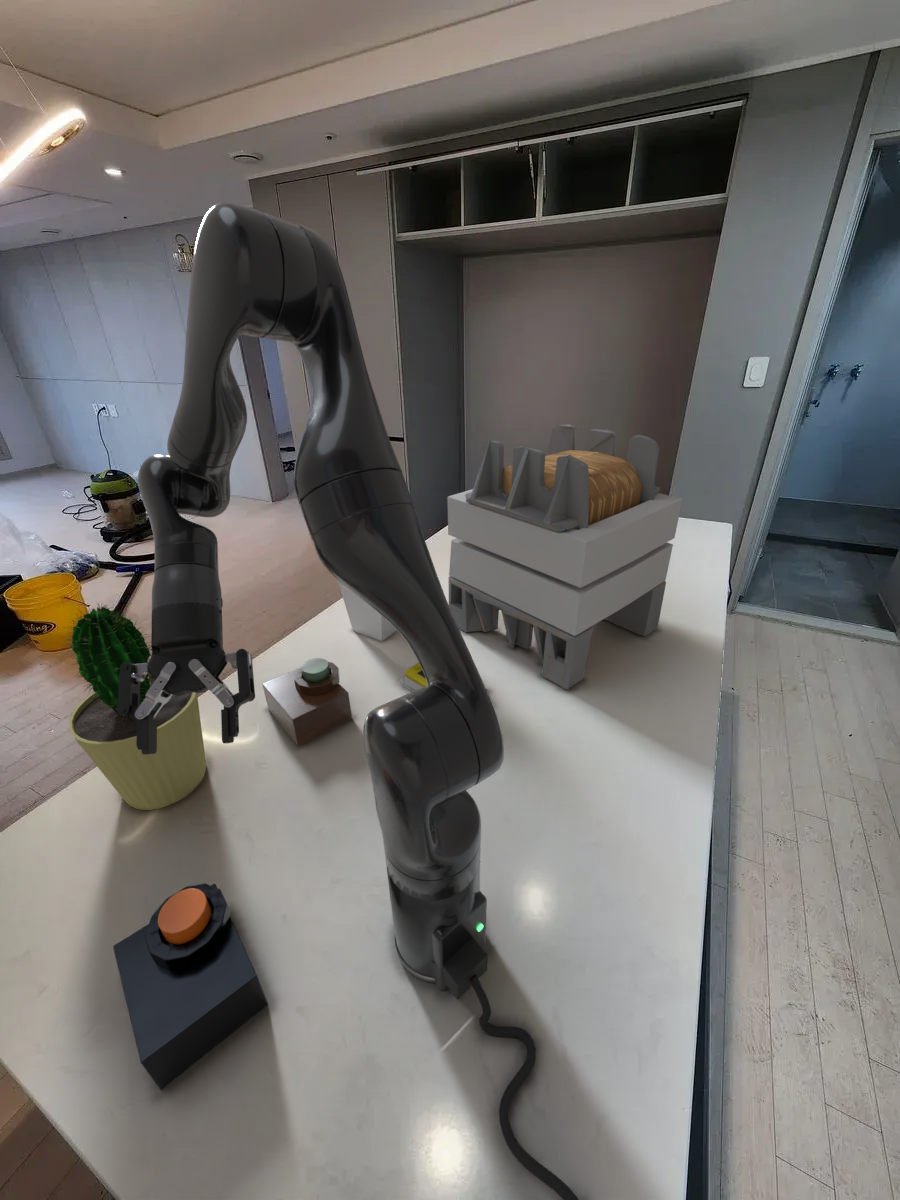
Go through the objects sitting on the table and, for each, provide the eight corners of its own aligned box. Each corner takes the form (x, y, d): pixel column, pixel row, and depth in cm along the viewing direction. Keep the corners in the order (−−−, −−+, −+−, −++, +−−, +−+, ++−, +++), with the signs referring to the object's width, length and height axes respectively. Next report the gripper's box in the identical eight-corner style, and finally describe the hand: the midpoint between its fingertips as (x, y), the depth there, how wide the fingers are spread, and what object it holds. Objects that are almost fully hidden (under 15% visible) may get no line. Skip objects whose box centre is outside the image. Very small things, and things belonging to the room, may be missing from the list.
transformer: (445, 622, 115) (441, 437, 95) (539, 578, 133) (551, 415, 114) (568, 693, 92) (595, 470, 73) (660, 628, 111) (701, 436, 91)
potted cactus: (228, 793, 74) (170, 616, 59) (106, 841, 67) (6, 656, 53) (213, 729, 86) (161, 568, 71) (108, 765, 79) (27, 596, 65)
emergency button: (431, 642, 100) (490, 674, 90) (432, 661, 102) (490, 693, 93) (395, 663, 94) (455, 699, 85) (397, 682, 96) (455, 719, 87)
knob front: (217, 923, 51) (212, 912, 50) (170, 955, 49) (164, 943, 48) (203, 891, 54) (198, 879, 53) (158, 919, 52) (152, 907, 51)
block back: (358, 715, 88) (353, 681, 85) (298, 746, 82) (290, 710, 78) (324, 683, 96) (319, 650, 93) (268, 709, 90) (259, 675, 86)
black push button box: (269, 1003, 51) (254, 964, 47) (160, 1090, 45) (134, 1053, 42) (227, 910, 59) (211, 870, 56) (130, 974, 54) (106, 934, 50)
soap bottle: (415, 624, 114) (408, 514, 102) (386, 645, 107) (375, 530, 94) (373, 610, 120) (362, 504, 108) (343, 629, 113) (327, 518, 100)
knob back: (334, 676, 86) (333, 666, 85) (310, 686, 84) (309, 676, 83) (322, 664, 89) (320, 654, 88) (299, 674, 87) (297, 664, 86)
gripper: (107, 607, 56) (102, 759, 52) (241, 593, 59) (247, 738, 54) (138, 623, 64) (136, 758, 59) (256, 610, 66) (263, 739, 62)
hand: (189, 748), depth 57 cm, fingers open, 8 cm apart
